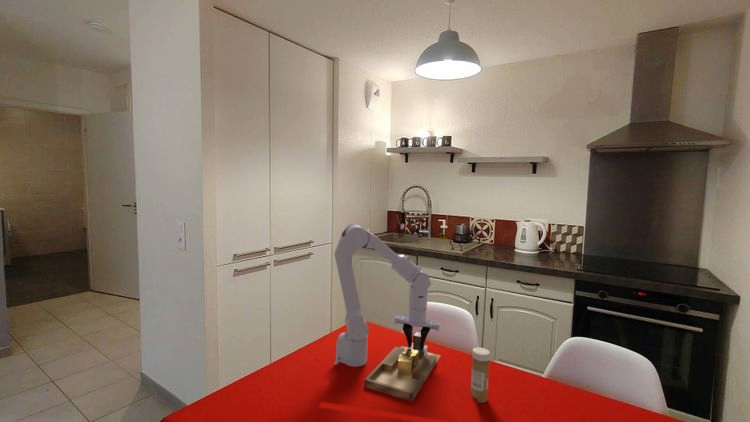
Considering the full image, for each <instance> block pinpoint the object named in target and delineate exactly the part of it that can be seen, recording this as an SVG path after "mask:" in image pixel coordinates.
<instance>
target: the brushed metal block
mask: <svg viewBox="0 0 750 422" xmlns="http://www.w3.org/2000/svg"><path fill="white" fill-rule="evenodd" d="M420 344H421V332H418V331H415V332H414V334H412V346H411V348H409V349H413V350H417V351H419V356H418V359H422V358H423V356H424V355H425V354H427V352H428V347H429V346H428V345H426V344H424V348H423V350H420Z"/></svg>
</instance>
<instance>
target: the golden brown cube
mask: <svg viewBox="0 0 750 422" xmlns="http://www.w3.org/2000/svg"><path fill="white" fill-rule="evenodd" d="M412 360H413V356H410V355H401V354H400V355H399V359H398V374H405V375H411V373H412Z"/></svg>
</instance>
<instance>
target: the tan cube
mask: <svg viewBox="0 0 750 422" xmlns="http://www.w3.org/2000/svg"><path fill="white" fill-rule="evenodd" d="M402 355H410V356H413V360H412V368H413V369H414V368H415V367H416V365H417V364H418V356H419V351H417V350H413V349H409V348H406V349H405V351H404V352H403V353H402Z"/></svg>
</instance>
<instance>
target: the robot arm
mask: <svg viewBox="0 0 750 422" xmlns="http://www.w3.org/2000/svg"><path fill="white" fill-rule="evenodd" d="M363 247H364V248H366V249H374V250H375V251H376V252H378V254H380V255H382V257H384V258H385V259H387V260H388V261H389V262H390V263H391V269H392V270H393V271H395V273H397V274H398V275H399V276H400V277H401V278H403V279H404V280H405V281H407V282H408V283H409V292H408V293H409V297H408V299H409V300H408V316H404V315H396V316H395V317H394V324H396V325H398V324H400V325H401V324H402V331H403V333H404V335H405V338H406V342H407V347H408V348H411V346H412V343H413V329H414V328H419V327H420V328H421V330H420V333H421V344H420V350H423V348H424V345H425V342H426V339H427V337H428V334H429V333H430V331H431V330H435V331H438V332H439V331H440V329H441V323H440V322H437V321H434V320H431V319H427V308H428V289H429V288H430V286H431V284H432V282H431V279H430V276H429V275H428V274H427V273H426V272H424V270H422V267H421V266H420V265H416V264H415V263H414V262H413V261H412V260H411V259H412V258H411V257H410V256H409V255H405V254H397V253H396V252H395V251H394V250H392V249H391V248H390V247H389V246H388V245H387V244H386V243H385V242H384V241H382V240H381V239H380V238H379V236H377V235H375V234H374V233H372V232H370V231H369V230H367V229H366V228H363V227H362V226H361V225H360V224H357V223H351V224H349V225H347V226H346V228H344V230H343V231H342V232H341V235H340V238H339V240H338V243H337V245H336V249H335V251H334V259H335V264H336V267H337V273H338V278H339V283H340V287H341V291H342V296H343V300H344V301H343V302H344V307H345V310H346V317H345V320H344V321H345V325H346V327H347V328H346V330H345V332H341V333H340V334H339V335H338V338H337V340H336V344H335V345H336V346H335V347H336V348H335V349H336V352H335V362H334V365H339V363H342V364H345V365H346V366H348V367H349V366H350V367H354V368H355V367H362V366H364V365H366V364H367V362H368V342H369V341H368V339H369V338H368V336H369V331H370V328H369V325H368V324H367V321H366V320H365V316H364V314H363V311H362V308H361V303H360V299H359V297H360V296H359V294H358V289H357V284H356V278H355V273H354V268H353V265H352V264H353V263H352V258H353V257H354V255H355V254H356V253H357V252H358V251H359V250H360V249H362V248H363ZM413 327H414V328H413Z"/></svg>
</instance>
